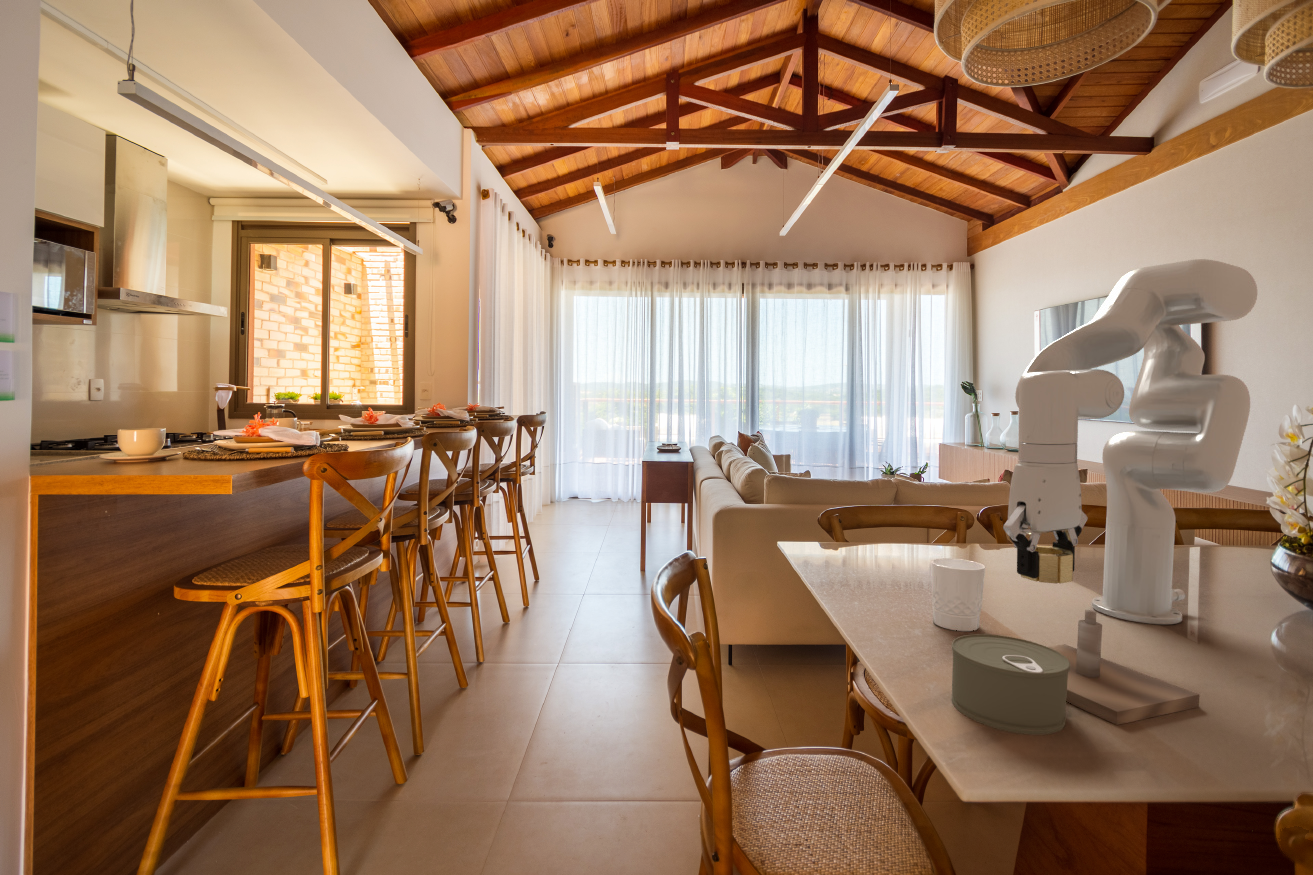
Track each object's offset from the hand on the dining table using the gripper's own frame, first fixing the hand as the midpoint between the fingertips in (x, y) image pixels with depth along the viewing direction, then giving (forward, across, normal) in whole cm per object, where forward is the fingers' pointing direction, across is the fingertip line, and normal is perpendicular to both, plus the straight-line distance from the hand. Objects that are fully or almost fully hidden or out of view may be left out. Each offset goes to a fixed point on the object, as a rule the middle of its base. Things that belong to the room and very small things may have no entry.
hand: (1045, 571), depth 97 cm
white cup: (+10, +8, -10) cm, 16 cm away
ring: (+1, 0, 0) cm, 1 cm away
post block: (+10, +10, +14) cm, 20 cm away
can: (+9, +25, +16) cm, 31 cm away
